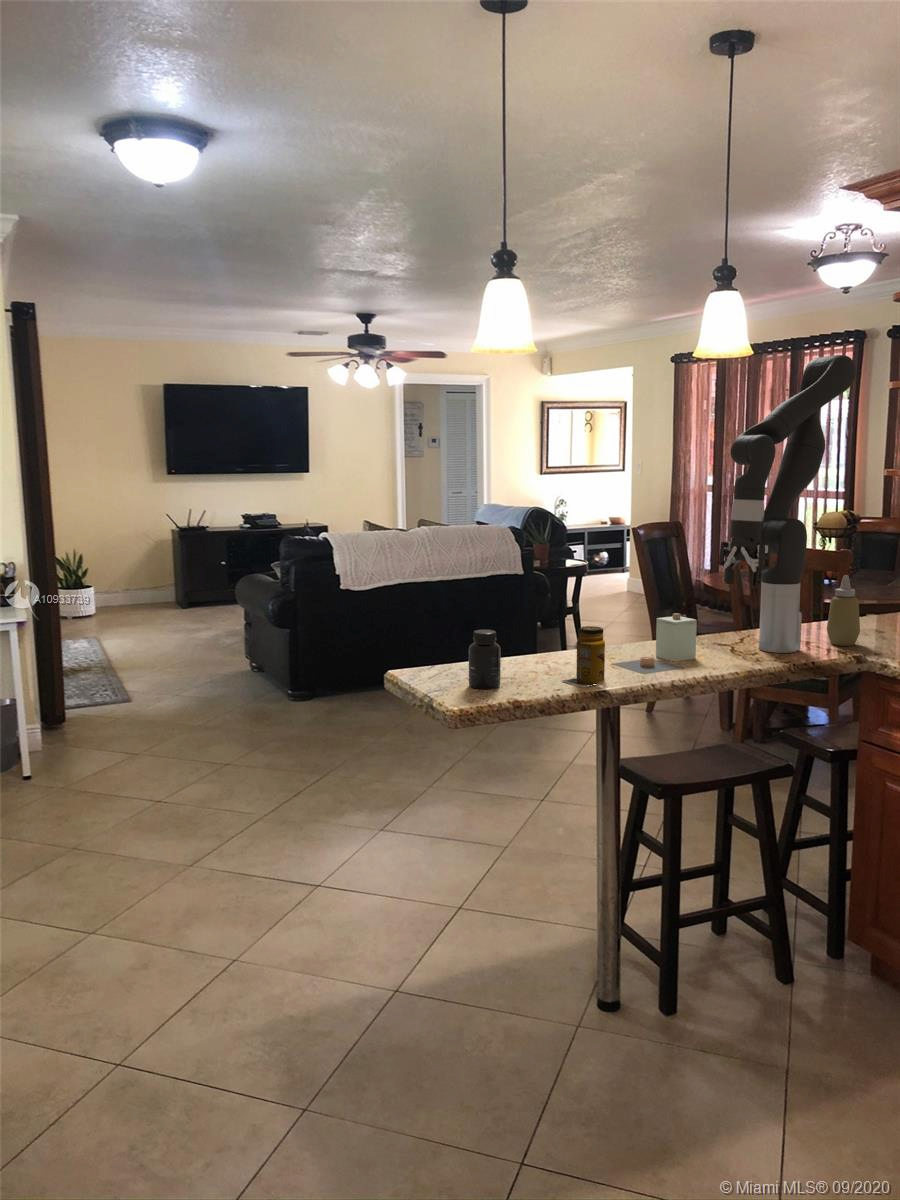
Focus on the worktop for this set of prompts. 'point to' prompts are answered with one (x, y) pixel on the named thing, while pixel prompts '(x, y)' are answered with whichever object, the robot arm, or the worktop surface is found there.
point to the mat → (636, 667)
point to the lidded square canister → (676, 638)
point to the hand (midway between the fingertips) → (741, 585)
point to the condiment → (589, 657)
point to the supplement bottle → (484, 661)
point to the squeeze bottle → (844, 616)
